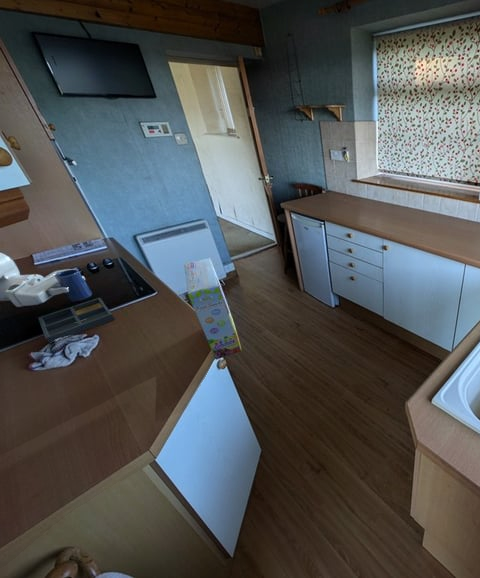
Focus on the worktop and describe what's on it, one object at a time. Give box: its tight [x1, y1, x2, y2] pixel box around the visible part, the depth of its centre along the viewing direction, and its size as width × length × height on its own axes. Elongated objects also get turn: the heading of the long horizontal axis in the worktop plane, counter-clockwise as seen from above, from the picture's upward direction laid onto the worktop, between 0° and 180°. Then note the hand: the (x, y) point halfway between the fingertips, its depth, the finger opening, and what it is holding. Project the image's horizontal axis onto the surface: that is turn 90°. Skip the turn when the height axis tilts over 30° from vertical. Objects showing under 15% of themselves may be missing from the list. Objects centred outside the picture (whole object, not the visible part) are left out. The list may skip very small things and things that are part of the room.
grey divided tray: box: [37, 297, 116, 344], centre depth 108 cm, size 18×18×3 cm
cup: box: [55, 268, 93, 302], centre depth 107 cm, size 6×6×10 cm
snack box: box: [183, 257, 243, 360], centre depth 95 cm, size 22×9×26 cm, turn 33°
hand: (76, 283), depth 107 cm, fingers closed on cup, 6 cm apart
